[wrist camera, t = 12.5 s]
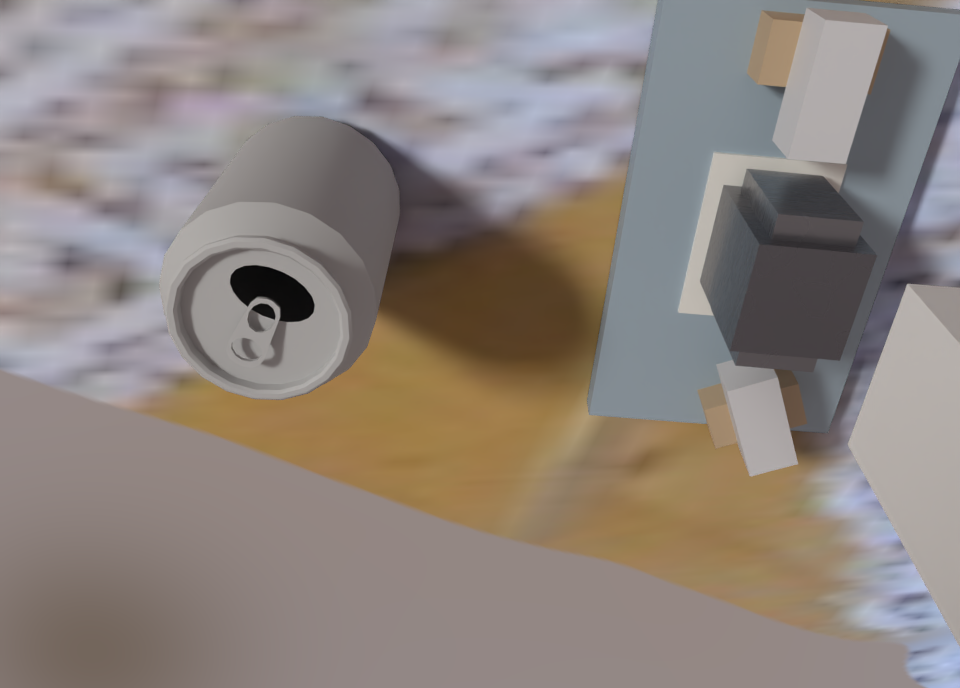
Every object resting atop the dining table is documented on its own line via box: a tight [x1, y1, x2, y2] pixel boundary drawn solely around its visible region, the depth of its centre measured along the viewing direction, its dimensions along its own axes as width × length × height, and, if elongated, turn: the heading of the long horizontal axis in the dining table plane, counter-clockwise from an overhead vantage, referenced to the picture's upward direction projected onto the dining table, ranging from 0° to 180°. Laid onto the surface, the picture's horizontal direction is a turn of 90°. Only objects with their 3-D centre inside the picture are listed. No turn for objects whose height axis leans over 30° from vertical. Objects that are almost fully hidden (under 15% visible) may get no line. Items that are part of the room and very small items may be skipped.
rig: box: [587, 0, 960, 476], centre depth 38 cm, size 20×12×5 cm, turn 175°
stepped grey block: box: [700, 169, 877, 372], centre depth 37 cm, size 7×4×6 cm
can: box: [159, 116, 400, 400], centre depth 35 cm, size 8×8×12 cm
